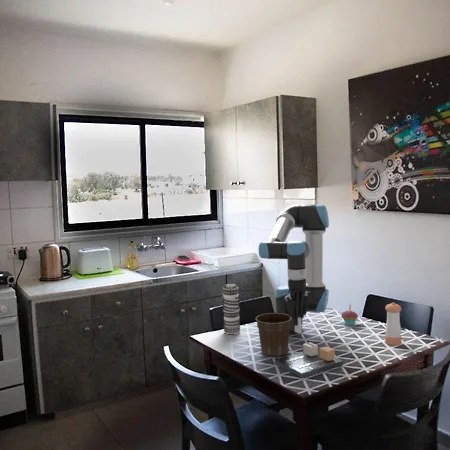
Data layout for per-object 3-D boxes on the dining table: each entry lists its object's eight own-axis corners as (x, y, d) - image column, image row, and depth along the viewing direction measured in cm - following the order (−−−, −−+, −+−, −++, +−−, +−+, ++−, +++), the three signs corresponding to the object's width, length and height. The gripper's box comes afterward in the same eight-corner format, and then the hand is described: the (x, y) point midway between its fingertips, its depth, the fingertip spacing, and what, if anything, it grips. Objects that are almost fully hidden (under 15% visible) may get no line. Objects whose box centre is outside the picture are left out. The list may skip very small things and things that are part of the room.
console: (274, 363, 207) (274, 358, 207) (314, 352, 218) (313, 347, 218) (301, 378, 192) (301, 372, 191) (342, 365, 203) (342, 360, 203)
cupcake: (359, 326, 252) (359, 304, 251) (343, 327, 252) (343, 304, 251) (355, 321, 261) (355, 299, 259) (339, 322, 261) (339, 300, 260)
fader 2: (319, 357, 206) (319, 347, 205) (326, 355, 208) (326, 345, 207) (327, 361, 202) (327, 351, 201) (335, 358, 204) (334, 349, 203)
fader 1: (303, 352, 212) (303, 343, 211) (310, 350, 214) (310, 341, 213) (310, 356, 207) (310, 346, 207) (317, 354, 209) (317, 344, 209)
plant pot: (249, 350, 224) (248, 316, 222) (278, 343, 232) (277, 310, 230) (269, 361, 210) (268, 325, 208) (299, 353, 217) (298, 318, 216)
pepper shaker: (382, 343, 227) (382, 303, 225) (389, 339, 232) (389, 299, 230) (397, 346, 222) (397, 305, 220) (404, 342, 227) (404, 302, 225)
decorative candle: (237, 328, 256) (235, 282, 253) (243, 333, 247) (242, 285, 245) (220, 331, 253) (218, 284, 250) (227, 336, 244) (225, 287, 241)
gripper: (290, 282, 197) (291, 338, 200) (314, 277, 203) (315, 331, 207) (278, 278, 203) (280, 333, 206) (303, 274, 210) (304, 326, 213)
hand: (298, 332), depth 207 cm, fingers closed
